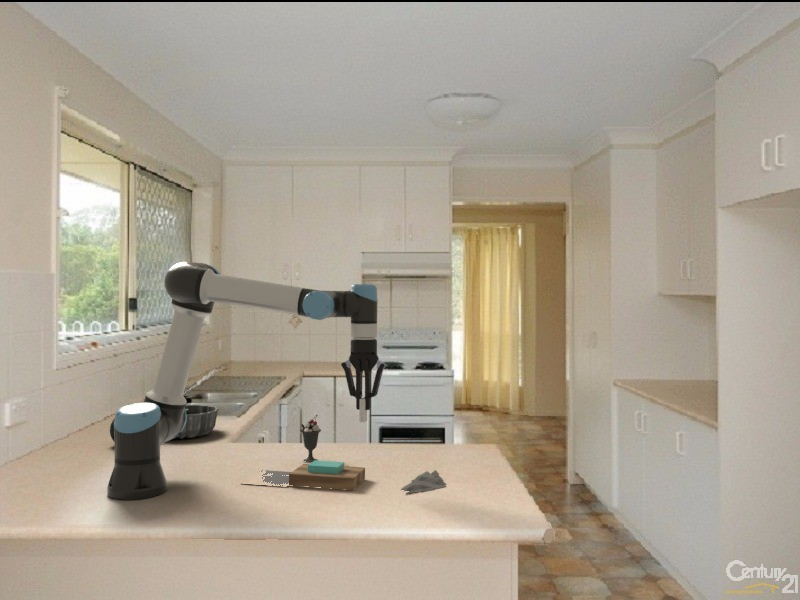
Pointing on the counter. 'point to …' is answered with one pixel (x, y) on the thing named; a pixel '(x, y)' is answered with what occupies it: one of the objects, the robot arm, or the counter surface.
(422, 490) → the cloth
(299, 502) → the counter surface
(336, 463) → the rectangular block
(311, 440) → the sundae
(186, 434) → the bundt pan
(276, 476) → the mat
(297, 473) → the brown wooden slab
